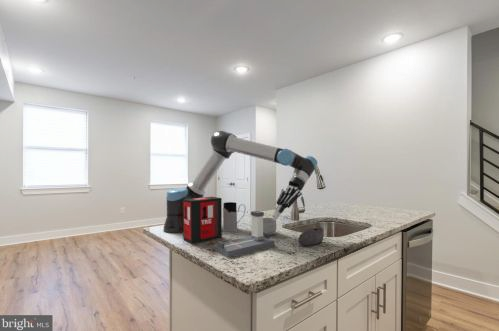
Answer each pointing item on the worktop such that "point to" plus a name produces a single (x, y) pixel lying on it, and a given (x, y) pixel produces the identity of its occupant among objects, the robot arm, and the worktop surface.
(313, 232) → the perforated stone tool
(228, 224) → the glass holder
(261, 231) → the fader knob
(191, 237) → the cleaning product box
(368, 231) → the worktop surface
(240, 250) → the fader console
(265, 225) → the teacup
